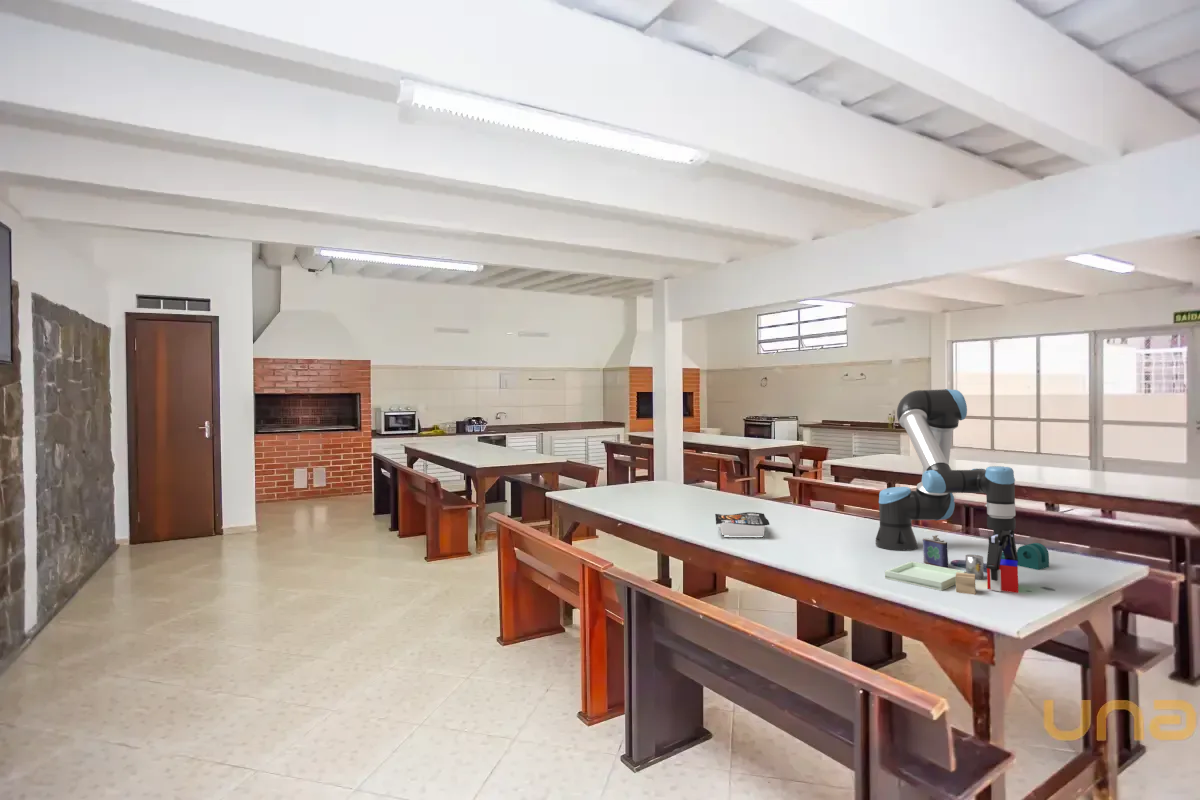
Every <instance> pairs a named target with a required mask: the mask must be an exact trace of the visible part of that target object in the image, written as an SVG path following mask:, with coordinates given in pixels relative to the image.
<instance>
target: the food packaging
mask: <svg viewBox="0 0 1200 800" xmlns="http://www.w3.org/2000/svg"><path fill="white" fill-rule="evenodd" d="M715 524H716V526H717V525H719V527H720V533H723V535H729V536H764V537H765V527H766V526H770V525H771V524H770V522H769V519H768V518H767V517H766V515H765V514H764V513H762V512H755V511H754V512H751V511H749V512H740V513H736V514H735V513H734V514H719V513H715Z"/></svg>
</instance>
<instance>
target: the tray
mask: <svg viewBox="0 0 1200 800" xmlns="http://www.w3.org/2000/svg"><path fill="white" fill-rule="evenodd" d="M956 572H959V573H966V570H965V571H964V570H959V569H954V568H950V567H948V568H945V567H939V566H934V565H930V564H925V563H924V562H918V561H911V560H910V561H908V562H905V563H903V564H900V565H897V566H894V567H892V568H889V569H887V570H885V571H884V580H885V579H886V580H891V581H895V582H900V583H905V584H908V585H913V586H919V587H923V588H928V589H933V590H935V591H936V590H937V591H940V592H941V591H945V590H946V589H948V588H951V587H952V586H956Z"/></svg>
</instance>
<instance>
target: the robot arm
mask: <svg viewBox="0 0 1200 800" xmlns="http://www.w3.org/2000/svg"><path fill="white" fill-rule="evenodd" d="M967 415H968V406H967V402H966V399H965V396H964V395H963V393H962V392H960V391H959V390H958V389H948V388H945V389H924V390H922V389H919V390H918V389H917V390H913V391H910V392H908V393H907V394H905V395H903V397H902V398H901V400H900V401H899V402H898V405H897V409H896V419H897V421H898V422H899V423H898V424H899V425H900V426H901V427H902V429H905V431H906V433H907V435H908V437H909V439H910V442H911V443H912V445H913V448H914V450H915V453H916V454H917V457H918V459H919V462H920V463H921V465H922V476H921V481H920V482H919V483H917V484H916V488H915V490H912V489H911V488H910V487H908V486H895V487H892V486H891V487H887V488H883V489H882V490H880V491H879V494H878V496H879V497H878V509H879V510H878V511H879V512H878V513H879V527H878V531H877V534H876V537H875V546H876V547H878V548H880V549H883V550H884V549H886V550H890V551H892V550H893V551H914V550H917V549H918V541H917V539H916V536H915V533H914V531H913V526H912V525H913V524H912V521H942V520H944V521H945V520H947V519H950V518H951V516H952V515H953V514H954V510H955V506H956V505H955V504H956V502H955V497H954V494H972V493H973V494H976V493H977V494H979V493H981V494H986V495H985V496H986V504H985V507H986V514H987V517H986V526H987V528H988V529H991V530H993V534H992V535H988V549H987V557H986V565H985V567H986V569H987V568H988V569H990V588H991V589H990V590H991V591H994V592H995V591H996V592H1000V593H1001V592H1002V591H1001V570H999V567H1000V562H1001V557H1002V552H1003V553H1004V556H1005V559H1006V560H1016V561H1018V560H1017V559H1018V556H1017V550H1018V549H1017V545H1016V541H1015V530H1016V528H1017V526H1016V524H1017V522H1016V518H1015V517H1016V513H1017V512H1016V500H1015V499H1016V497H1015V495H1016V493H1015V492H1016V487H1015V484H1016V479H1015V475H1014V474H1015V473H1014V472H1015V471H1014V469H1013V467H1010V466H1001V465H998V466H997V465H996V466H995V465H994V466H993V465H992V466H987V467H986V469H985V468H972V469H951V466H950V465H949V464H950V456H951V448H952V441H953V433H954V430H955V429H957V428H958V427H959V422H960V421H963V420H965V419H966V418H967Z"/></svg>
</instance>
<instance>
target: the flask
mask: <svg viewBox="0 0 1200 800" xmlns="http://www.w3.org/2000/svg"><path fill="white" fill-rule="evenodd" d="M938 536H939V534H937V535H932V538H929V537H924V538H922V545H923V546H922V547H923V548H922V549H923V550H922V551H923V552H922V553H923V564H929V565H934V566H939V567H945V568H949V557H948V554H949V553H948V552H949V551H948V542H947V541H945V540H943V539H940V538H939V537H938Z"/></svg>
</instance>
